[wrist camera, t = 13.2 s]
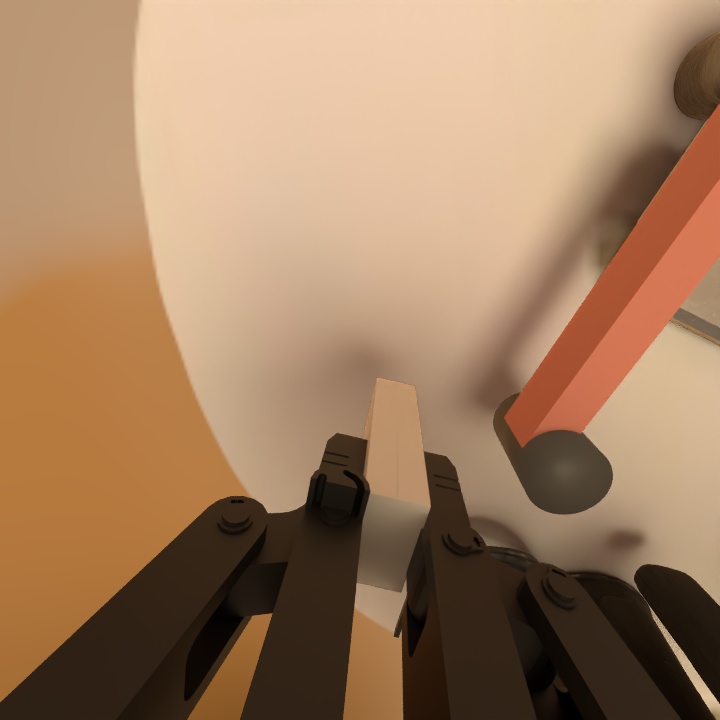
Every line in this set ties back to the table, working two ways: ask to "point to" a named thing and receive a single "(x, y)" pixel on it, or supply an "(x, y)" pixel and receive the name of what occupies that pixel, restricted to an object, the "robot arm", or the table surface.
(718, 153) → the lever
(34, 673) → the robot arm
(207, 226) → the table surface
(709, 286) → the metal tray
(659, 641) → the milk frother
